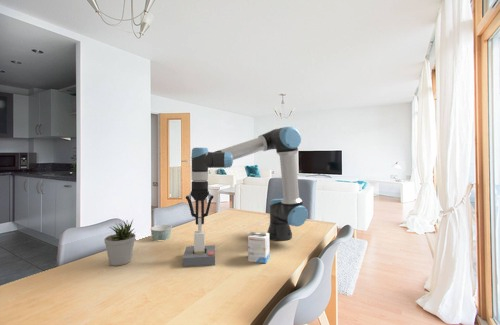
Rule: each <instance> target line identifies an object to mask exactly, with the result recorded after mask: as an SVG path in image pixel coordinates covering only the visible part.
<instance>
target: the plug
mask: <svg viewBox="0 0 500 325" xmlns="http://www.w3.org/2000/svg"><path fill="white" fill-rule="evenodd" d="M205 234H206V233H205V230H202V231H201V232H198V230H197V231H194V234H193V235H194V236H193V241H194V242H193V246H194V254H204V253H205V246H206V245H205V243H206V242H205V237H206V236H205Z"/></svg>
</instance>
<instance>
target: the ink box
mask: <svg viewBox="0 0 500 325" xmlns="http://www.w3.org/2000/svg"><path fill="white" fill-rule="evenodd" d="M249 233H250V234H249V235H248V236H247V261H248V262H250V263H251V262H252V263H259V264H267V263H268V260H269V259H270V257H271V256H270V254H271V252H270V246H271V245H270V239H269V233H267V232H264V231H263V232H262V231H261V232H260V231H249Z"/></svg>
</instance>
